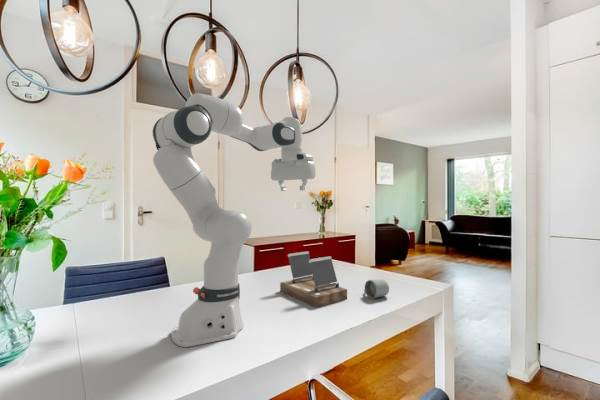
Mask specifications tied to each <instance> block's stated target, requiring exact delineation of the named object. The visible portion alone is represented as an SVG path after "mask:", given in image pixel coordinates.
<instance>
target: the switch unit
mask: <svg viewBox="0 0 600 400" xmlns="http://www.w3.org/2000/svg"><path fill="white" fill-rule="evenodd" d="M279 285H280V292H281V293H283V294H285V295H288V296H290V297H293V298H294V299H297V300H299V301H302V302H304V303H306V304H308V305H310V306H312V307H315V308H319V307H323V306H326V305H329V304H333V303H337V302H340V301H344V300H348V289H347V288H344V287H342V286H340V284H339V281H337V282H333V283H329V284H325V285H321V286H316V287H315V283H314V279H313V275H309V276H304V277H299V278H294V279H293V278H292V279H291V280H287V281H282V282H279Z"/></svg>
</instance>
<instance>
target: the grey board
mask: <svg viewBox="0 0 600 400" xmlns="http://www.w3.org/2000/svg"><path fill="white" fill-rule="evenodd" d="M287 257H288V261H289V267H290V271H291V276H292V279H297V278H302V277H307V276H312V270H311V266H310V263H309V260H311V258H310V252H309V251H308V250H307V251H300V252H293V253H288V254H287Z"/></svg>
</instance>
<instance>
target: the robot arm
mask: <svg viewBox="0 0 600 400" xmlns="http://www.w3.org/2000/svg"><path fill="white" fill-rule="evenodd" d="M211 132H214V133H216V134H221V135H225V136H229V137H230V138H233V139H235V140H238V141H242V142H244V143H246V144H248V145H250V146H251V148H253V149H254V150H256V151H258V152H265V151H267V150H272V149H273V150H274V149H277V148H281V152H280V153H281V158H278V159H277V158H276V159H275V158H274V160H273V161H271V170H270V171H271V172H270V179H271V180H272V181H277V182H278V185H279V186H280V187H279V188H280V191H281V192H285V191H286V188H287V187H286V186H285V185H284V181H294V180H295V181H296V180H301V182H302V183H301V185H300V186H299V191H305V189H306V187H305V186H306V184H307V183H308V180H312V179H313V180H314V179H315V177H316V166H315V163H314V155H310V154H306V153H304V152H303V148H302V142H303V127H302V124H301V122H300V120H299V119H297V118H296V117H291V116H289V117H288V116H287V117H284V118H282V120H280V121H278V122H273V123H270V124H266V125H263V126H257V127H251V126H249V125H246V124H244V116H243V112H242V109H241V108H240V107H239V106H237V105H236V104H234V103H233V102H230V101H228V100H226V99H223V98H220V97H218V96H215V95H214V96H213V95H209V94H205V93H199V92H198V93H193V94H192V95H190V96H189V97H188V99H187V100H186V103H185V106H184V107H181V108H180V109H178V110H174V111H171V112H169V113H167V114H165V115H164V116H163V117H160V118H159V119H158V120H157V121H156V122H155V123H154V126H153V127H152V137H153V141H154V142H155V148H156V152H155V153H154V155H153V159H152V161H153V165H154V167H155V169H156V171H157V173H158V175H159V176H160V178H161V180H162V181H163V183H164V184H165V185H166V187H167V188H168V189H169V191H170V193H172V195H173V196H174V198H175V199H176V200H177V201H178V203H180V205H181V206H182V207H183V209H184V211H186V214H187V215H188V217H189V220H190V222H191V224H192V229H193V232H194V233H195V235H197V236H198V237H199V238H201V239H202V240H203V241H206V242H211V243H210V250H209V253H208V257H207V258H206V259H205V260H204V262H203V286H201V288H199V287H198V286H195V287H193V289H192V292H193V293H194V294H195V295H197V299H196V300H195V301H193V302H192V304H190V305H189V306H188V307H187V308H186V309H185V310H184V311H183V312H182V313H181V314H180V315H179V320H178V326H177V327H174V328H172V330H171V331H170V338H171V340H172V342H173V343H174V344H175V345H177V346H179V347H182V348H190V347H194V346H200V345H204V344H209V343H215V342H219V341H223V340H228V339H233V338H236V337H237V336H238V333H239V332H240V331H241V330H242V329H243V328H244V322H243V318H242V315H241V307H240V296H241V290H240V288H241V287H240V283H239V263H240V262H239V260H240V256H241V252H242V249H243V246H244V244H245V243H246V241H247V240H249V239H250V237H251V234H252V231H253V230H252V222H251V220H250V218H249V216H247V215H245V214H243V213H242V212H238V211H236V210H229V209H228V210H225V209H223V208H221V206H220V204H219V202H218V200H217V197H216V188H215V187H214V186H213V184H212V182H211V181H210V180H209V178H208V177H207V174H206V173H205V172H204V170H203V169H202V168H201V167H200V166H199V164H198V163H197V162H196V159H194V157H193V153H192V147H194V146H196V145H199V144H201V143H203V142H204V141H206V140H207V139H208V138H209V136H210V135H211Z"/></svg>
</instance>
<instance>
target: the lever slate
mask: <svg viewBox="0 0 600 400" xmlns="http://www.w3.org/2000/svg"><path fill="white" fill-rule="evenodd" d="M309 263H310V266H311V270H312V275H313V279H314V283H315V287H316V286H321V285H325V284H329V283H330V284H333V283H337V282H338V279H337V276H336V275H337V274H336V271H335V268H334V264H333V260H332V256H323V257H317V258H310V260H309ZM312 275H311V276H312Z"/></svg>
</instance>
